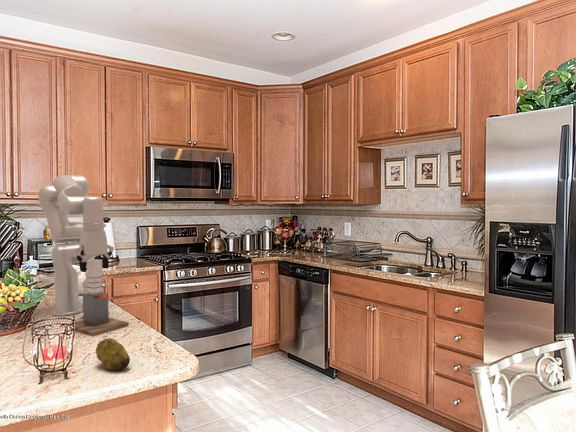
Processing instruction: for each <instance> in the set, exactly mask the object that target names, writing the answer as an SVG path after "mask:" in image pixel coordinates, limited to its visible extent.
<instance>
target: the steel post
mask: <svg viewBox="0 0 576 432" xmlns="http://www.w3.org/2000/svg"><path fill="white" fill-rule="evenodd" d="M86 270H87V278H88V282H87V283H88V287H87V288H88V295H92V296H95V295H100V294H103V293H104V292H103V291H104V288H103V287H104V285H103V283H104V281H103V267H102V259H98V258H96V259H92V260H87V262H86Z"/></svg>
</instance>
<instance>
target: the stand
mask: <svg viewBox="0 0 576 432" xmlns="http://www.w3.org/2000/svg"><path fill="white" fill-rule="evenodd" d="M82 308H83V311H82V313H83V317H82V319H79V320H75V321H74V322H75V331H74V332H76V331H77V332H76V333H79V332H80V333H79V334H82V335H85V336H86V335H87V336H90V337H94V336H95V337H96V336H99V335H102V334H105V333H108V332H112V331H116V330H120V329H122V328H126V327H129V325H130V324H129V321H124V320H121V319H116V318H113V317H110V316H109V315H110V314H109V293H107V292H103V294H100V295H95V296H92V295H88V294H82Z"/></svg>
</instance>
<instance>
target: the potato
mask: <svg viewBox="0 0 576 432" xmlns="http://www.w3.org/2000/svg"><path fill="white" fill-rule="evenodd" d="M95 348H96V349H95V350H96V351H95V354H96V357H97V360H98V361H100V362H101V364H102V366H103V367H104V368H106V370H111V371H121V370H122V371H123V370H124V369H126V368H127V367H128V366H129V365H130V362H131V358H130V355H129V353H128V352H127V350H126V349H125V345H123V344H122V343H119V341H118V340H116V339H114V338H110V337H109V338H104V339H103V340H101V341H99V342H98V344H97V346H96V347H95Z"/></svg>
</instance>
